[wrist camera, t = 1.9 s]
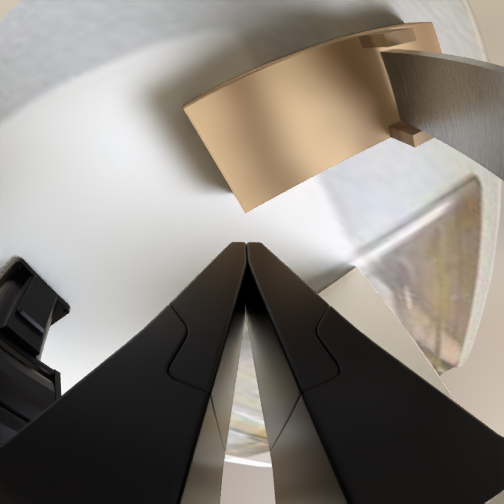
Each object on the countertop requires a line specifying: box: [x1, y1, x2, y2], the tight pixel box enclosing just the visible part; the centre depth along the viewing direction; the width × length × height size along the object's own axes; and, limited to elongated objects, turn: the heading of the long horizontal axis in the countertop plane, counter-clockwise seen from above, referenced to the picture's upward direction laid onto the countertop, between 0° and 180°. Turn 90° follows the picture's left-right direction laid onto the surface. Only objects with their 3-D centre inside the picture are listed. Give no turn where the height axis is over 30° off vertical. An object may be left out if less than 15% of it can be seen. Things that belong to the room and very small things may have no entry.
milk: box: [318, 267, 456, 402], centre depth 19 cm, size 6×6×22 cm
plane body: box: [183, 22, 442, 213], centre depth 14 cm, size 18×7×5 cm, turn 116°
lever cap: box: [380, 49, 504, 181], centre depth 9 cm, size 2×5×10 cm, turn 26°
